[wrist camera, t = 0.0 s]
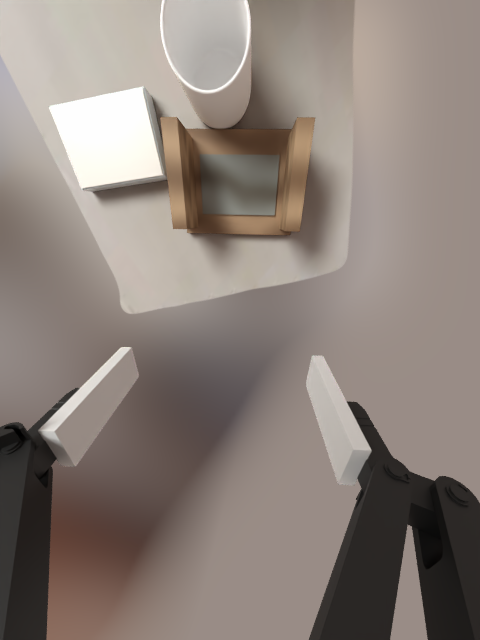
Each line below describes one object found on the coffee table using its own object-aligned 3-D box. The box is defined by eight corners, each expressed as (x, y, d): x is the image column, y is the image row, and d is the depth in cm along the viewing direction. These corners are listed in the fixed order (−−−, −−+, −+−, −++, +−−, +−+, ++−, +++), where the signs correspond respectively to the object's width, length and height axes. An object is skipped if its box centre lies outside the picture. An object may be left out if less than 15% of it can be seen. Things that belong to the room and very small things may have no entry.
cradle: (180, 131, 31) (158, 105, 24) (300, 132, 30) (316, 105, 23) (189, 232, 37) (174, 236, 30) (289, 234, 37) (298, 239, 29)
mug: (247, 0, 25) (245, -133, 16) (252, 128, 30) (253, 87, 21) (179, 12, 26) (137, -109, 16) (196, 135, 31) (171, 99, 22)
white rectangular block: (62, 114, 31) (47, 105, 28) (151, 95, 29) (142, 85, 27) (92, 191, 35) (80, 190, 33) (170, 179, 34) (164, 176, 31)
